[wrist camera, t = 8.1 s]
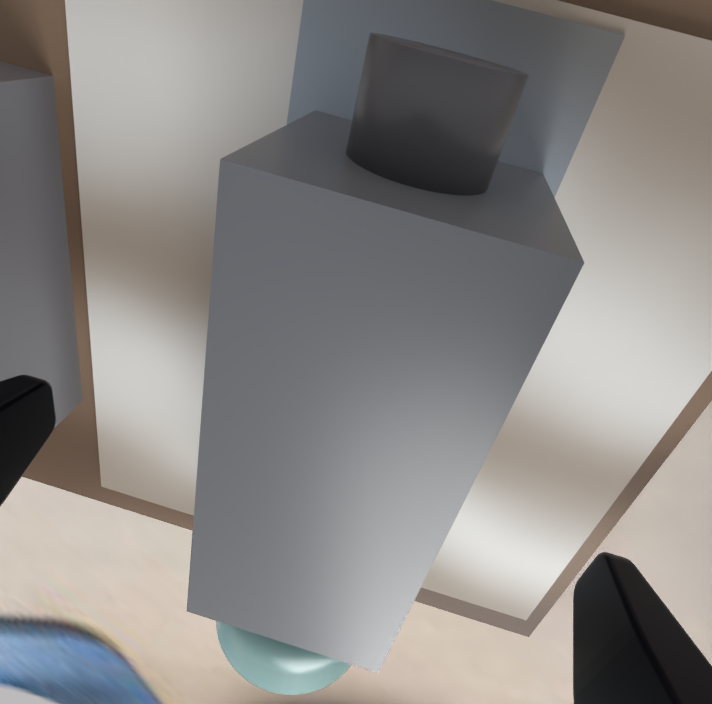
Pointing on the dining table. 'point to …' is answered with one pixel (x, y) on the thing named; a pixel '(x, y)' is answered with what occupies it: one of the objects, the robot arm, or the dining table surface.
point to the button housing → (35, 242)
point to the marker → (363, 356)
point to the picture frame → (338, 97)
